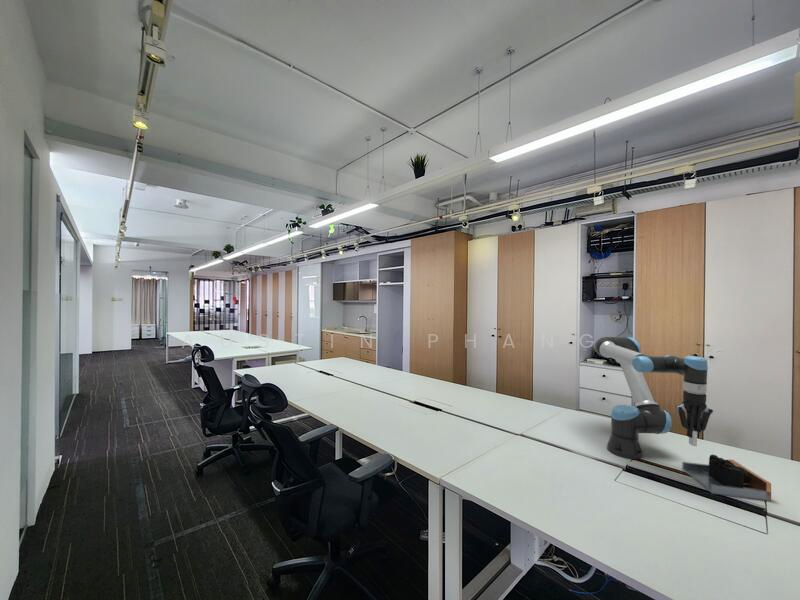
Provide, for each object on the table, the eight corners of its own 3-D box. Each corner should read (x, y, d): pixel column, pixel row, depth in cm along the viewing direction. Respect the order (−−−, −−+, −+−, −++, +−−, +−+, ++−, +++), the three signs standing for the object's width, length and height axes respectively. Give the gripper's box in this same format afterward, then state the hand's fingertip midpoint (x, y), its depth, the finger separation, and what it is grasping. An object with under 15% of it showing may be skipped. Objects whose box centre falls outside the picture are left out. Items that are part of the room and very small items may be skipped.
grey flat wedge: (712, 493, 131) (712, 476, 131) (682, 469, 149) (682, 454, 149) (771, 501, 126) (771, 483, 126) (732, 475, 145) (732, 459, 145)
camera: (762, 494, 128) (763, 470, 128) (732, 492, 130) (733, 467, 130) (732, 476, 142) (732, 453, 142) (705, 473, 144) (705, 451, 144)
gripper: (682, 393, 138) (680, 446, 139) (718, 395, 135) (716, 450, 136) (672, 388, 145) (670, 439, 146) (706, 390, 142) (704, 442, 143)
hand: (692, 444), depth 141 cm, fingers closed
